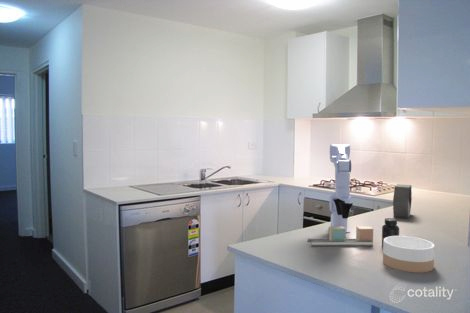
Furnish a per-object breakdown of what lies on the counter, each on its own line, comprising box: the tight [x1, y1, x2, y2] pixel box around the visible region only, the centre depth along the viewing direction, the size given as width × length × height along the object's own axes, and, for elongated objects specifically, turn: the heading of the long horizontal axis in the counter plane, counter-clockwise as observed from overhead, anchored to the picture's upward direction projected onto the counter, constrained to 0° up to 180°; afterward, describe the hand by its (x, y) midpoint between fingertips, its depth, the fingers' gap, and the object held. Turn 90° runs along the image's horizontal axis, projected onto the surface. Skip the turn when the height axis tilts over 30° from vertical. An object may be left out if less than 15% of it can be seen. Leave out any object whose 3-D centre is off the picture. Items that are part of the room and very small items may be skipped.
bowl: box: [382, 235, 436, 273], centre depth 140 cm, size 17×17×8 cm
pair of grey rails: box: [307, 238, 374, 247], centre depth 165 cm, size 8×26×2 cm, turn 91°
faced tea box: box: [355, 225, 374, 242], centre depth 165 cm, size 4×6×7 cm
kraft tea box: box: [328, 225, 347, 241], centre depth 165 cm, size 4×6×7 cm
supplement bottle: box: [381, 217, 400, 248], centre depth 159 cm, size 7×7×12 cm
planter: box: [392, 184, 413, 219], centre depth 218 cm, size 17×8×21 cm
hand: (342, 216), depth 170 cm, fingers open, 7 cm apart
